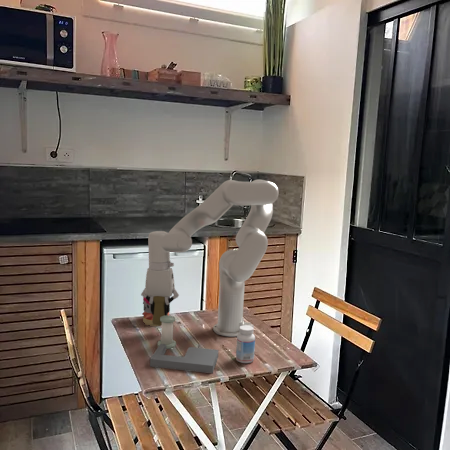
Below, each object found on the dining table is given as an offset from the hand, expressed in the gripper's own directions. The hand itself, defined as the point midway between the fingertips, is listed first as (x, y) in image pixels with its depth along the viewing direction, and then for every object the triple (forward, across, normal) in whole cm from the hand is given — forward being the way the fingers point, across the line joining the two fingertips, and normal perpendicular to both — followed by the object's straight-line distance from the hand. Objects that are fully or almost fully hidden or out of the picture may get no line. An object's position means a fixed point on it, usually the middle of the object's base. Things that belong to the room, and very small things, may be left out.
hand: (160, 313), depth 169 cm
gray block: (+9, -14, +20) cm, 25 cm away
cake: (+9, +6, -12) cm, 16 cm away
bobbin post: (+8, -4, +9) cm, 13 cm away
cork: (+4, 0, 0) cm, 4 cm away
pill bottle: (+10, -32, +14) cm, 37 cm away
